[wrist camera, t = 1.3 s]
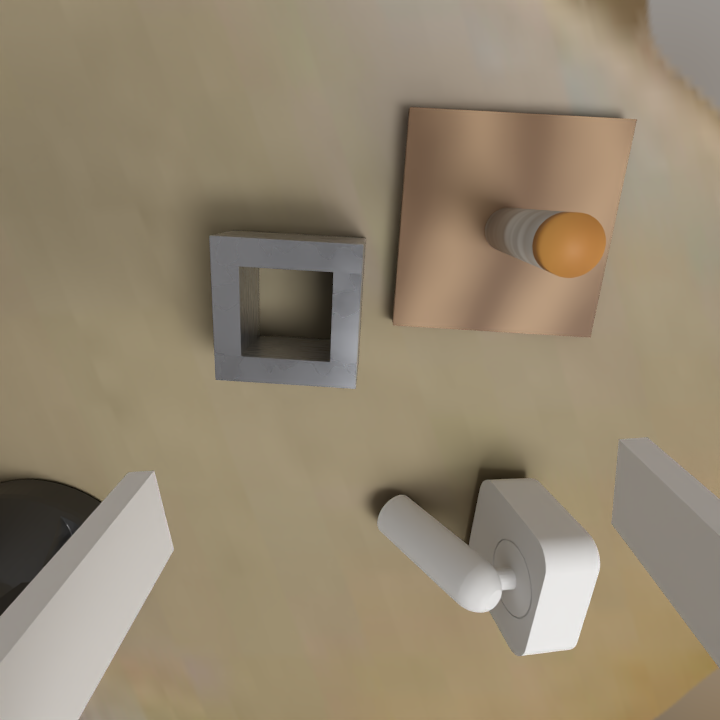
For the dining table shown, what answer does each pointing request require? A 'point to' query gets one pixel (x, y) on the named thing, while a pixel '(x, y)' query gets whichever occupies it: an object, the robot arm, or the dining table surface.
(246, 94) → the dining table surface
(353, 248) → the link
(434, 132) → the keeper
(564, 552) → the wall hook
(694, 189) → the dining table surface
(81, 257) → the dining table surface
